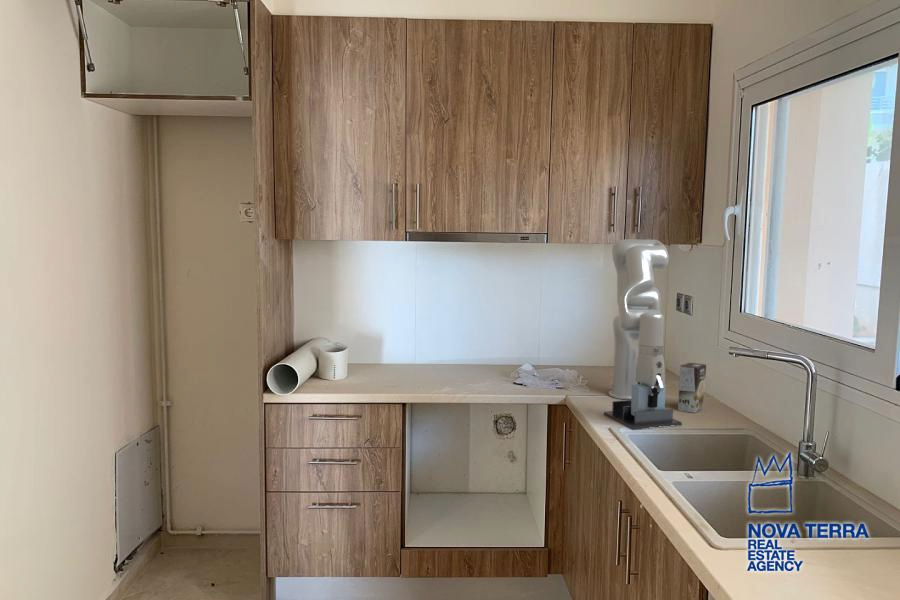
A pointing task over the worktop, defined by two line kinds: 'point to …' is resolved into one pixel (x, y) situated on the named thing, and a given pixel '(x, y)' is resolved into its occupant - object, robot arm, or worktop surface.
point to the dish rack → (640, 416)
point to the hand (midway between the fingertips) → (648, 404)
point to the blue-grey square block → (645, 398)
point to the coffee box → (692, 387)
